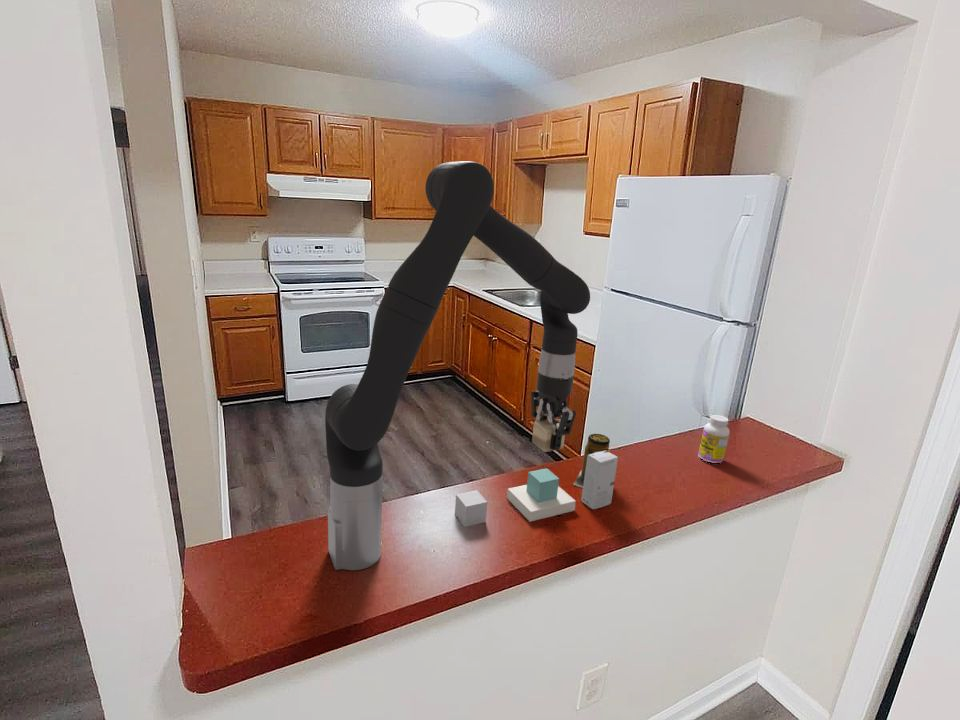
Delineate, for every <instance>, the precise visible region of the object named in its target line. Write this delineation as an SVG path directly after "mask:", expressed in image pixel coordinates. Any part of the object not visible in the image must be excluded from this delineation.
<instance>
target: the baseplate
mask: <svg viewBox="0 0 960 720" xmlns="http://www.w3.org/2000/svg"><path fill="white" fill-rule="evenodd" d="M526 490H527V484H523V485H519V486H514V487H508V488H507V493H506V499H507V500H508V501H509V502H510V503H511V504H512V505H513V506H514V507H515V508H516V509H517V510H518V511H519V512H520V513H521V514H522V515H523V517H524V518H525V519H526V520H527V521H528V522H529V523H530V522H534V521H538V520H542V519H546V518H551V517H554V516H558V515H562V514H566V513H571V512H575V509H576V502H577V501H576V500H575V498H573V497H572V496H571V495H570V494H568V492H566V490H564V489H563V488H561V486H560V485H558V492H557V498H556V499H551V500H547V501H543V502H539V503H538V502H537V501H536V500H535V499H534V498H533V497H532V496H531V495H530V494H529V493H528V492H527V491H526Z"/></svg>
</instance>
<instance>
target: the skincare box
mask: <svg viewBox="0 0 960 720" xmlns="http://www.w3.org/2000/svg"><path fill="white" fill-rule="evenodd" d="M618 460H619V457H618V456H617V455H615V454H613V453H611V452H608V451H606V450H605V451H601V452H595V453H593V454H589V455H588V456H587V463H586V470H585V477H584V484H583V488H582V491H581V492H582V493H581V499H580V501H581V502H582V503H583V504H584V505H586V507H588V508H590V509H592V510H597V509H600V508H604V507H606V506H609V505H611V504H612V500H613V493H614V487H615V486H614V485H615V480H616V474H617V468H618Z"/></svg>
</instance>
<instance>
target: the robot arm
mask: <svg viewBox="0 0 960 720" xmlns="http://www.w3.org/2000/svg"><path fill="white" fill-rule="evenodd" d="M494 185H495V183H494V179H493V176H492V173H491V172H490V171H489V169H488V168H487V167H486V166H485V165H483V164H481V163H479V162H476V161H470V160H469V161H463V160H462V161H448V162H443V163H440V164H439V165H436V166H434V168H433V169H432V170H431V171H430V172H429V174H428V176H427V177H426V181H425V195H426V198H427V201H428V204H430V207H431V208H432V209H433V210H434V211H435V212H434V217H433V219H432V222H431V223H430V226H429V228H428V230H427V231H426V234H425V235H424V237H423V238H422V240H421V241H420V243H419V244H418V245H417V246H416V247H415V249H414V250H413V251H411V253H410V254H409V255H408V256H407V258H405V260H404V261H403V262H402V263H401V264H400V266H399V267H398V269H397V270H396V271H395V272H394V274H393V275H392V277H391V279H390V280H389V283H388V285H387V287H386V290H385V291H384V294H383V295H382V298H381V300H380V303H379V305H378V308H377V309H376V313H375V318H374V320H373V328H372V332H371V334H372V335H371V339H370V340H371V341H370V348H369V356H368V359H367V363H366V366H365V369H364V372H363V374H362V376H361V377H360V380H359V383H355V384H354V383H350V384H345V385H342V386H341V387H339V388H337V389H336V390H335V391H334V392H333V393H332V394H331V395H330V397H329V399H328V400H327V403H326V406H325V414H324V416H325V417H324V418H325V419H324V420H325V421H324V422H325V424H324V425H325V444H326V445H325V447H326V449H325V450H326V456H327V461H328V465H329V480H330V481H329V486H330V487H329V488H330V490H329V491H330V492H329V494H330V497H329V498H330V501H329V502H330V504H329V505H330V506H329V507H327V535H328V536H327V537H328V538H327V539H328V540H327V541H328V543H327V544H328V545H327V546H328V547H327V549H328V553H329V556H330V559H331V562H332V565H333V568H334V570H335V571H338V570H339V571H340V570H346V571H359V570H360V571H361V570H364V569H367V568H370V567H371V566H373V565H375V564H376V563H377V562H378V561H379V560H380V558H381V557H382V556H381V555H382V525H383V524H382V523H383V522H382V519H383V515H382V513H383V474H384V473H383V468H384V467H383V466H384V464H383V457H382V455H381V451H380V448H379V442H380V441H381V440H382V439H383V438H384V436H386V434H387V432H388V429H389V427H390V424H391V421H392V419H393V416H394V413H395V411H396V407H397V404H398V401H399V399H400V395H401V392H402V390H403V386H404V385H405V382H406V379H407V377H408V374H409V373H410V370H411V369H412V366H413V364H414V362H415V359H416V357H417V355H418V353H419V350H420V349H421V346H422V344H423V341H424V340H425V337H426V335H427V333H428V331H429V330H430V328H431V325H432V323H433V321H434V319H435V317H436V314H437V313H438V310H439V307H440V305H441V303H442V300H443V297H444V296H445V293H446V291H447V289H448V287H449V285H450V283H451V281H452V278H453V277H454V275H455V272H456V269H457V268H458V265H459V263H460V261H461V259H462V257H463V254H464V253H465V251H466V249H467V248H468V245H469V243H470V242H471V240H472V238H473V237H474V238H476V239H477V240H479V242H481V243H482V244H483V245H485V246H486V247H487V248H488V249H489V250H490V251H492V252H493V253H494V254H495V255H496V256H497V257H498V258H500V259H501V260H502V261H503V262H504V263H505V264H506V265H507V266H508V267H509V268H510V269H512V271H513V272H514V273H516V274H517V275H518V276H519V277H520V278H522V280H523V281H525V282H526V284H528V285H530V286H531V287H533V288H535V290H539V291H540V293H539V305H540V313H541V321H542V324H543V326H542V327H543V334H542V342H541V343H542V344H541V350H540V351H541V352H540V355H539V361H538V369H537V377H536V378H537V379H536V387H535V388H536V390H531V392H530V404H531V406H530V407H531V408H530V409H531V411H530V412H531V417H532V418H535V421H542V420H548V419H549V423H550V424H551V426H552V435H551V444H550V449H552V450H553V451H556V450H557V449H558V450H560V449H559V448H560V447H561V440H562V435H565V436H566V435H567V436H568V435H569V434H570V433H571V430H572V428H573V424H574V422H575V419H576V415H577V413H576V412H577V411H575V410H571V409H570V408H569V407H568V397H569V396H570V395H571V394H572V391H573V384H574V376H575V375H574V374H575V368H576V349H577V344H578V343H577V342H578V335H579V333H578V327H577V326H576V325H575V324H574V323H573V322H572V321H571V320H570V318H569V314H570V315H576V314H577V315H578V314H579V313H581V312H584V311H585V310H586V309H587V308H588V306H589V304H590V300H591V292H590V289H589V286H588V284H587V283H586V282H585V281H584V279H582V278H581V276H579V275H578V274H576V273H575V272H574V271H573V270H571V269H570V268H568V267H567V266H565V265H564V264H562V263H560V262H559V261H558V260H557V259H556V258H555V257H554V256H553V255H552V254H551V253H550V252H549V251H548V250H547V248H545V247H544V246H543V245H542V243H540V241H538V240H537V239H536V238H535V237H534V236H532V235H531V234H530V233H528V232H527V231H526V230H524V229H523V228H521V227H520V226H518V225H517V224H515V223H513V222H512V221H511V220H509V219H508V218H506V217H505V216H503V215H502V214H501V213H500V212H498V211H497V210H496V209H495V208H494V207H493V206H492V205H491V204H492V202H493V198H494V193H495V186H494ZM555 418H557V419H555ZM557 423H559V428H558V429H557V426H556V425H557ZM565 427H566V428H565ZM564 428H565V429H564Z"/></svg>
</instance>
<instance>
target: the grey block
mask: <svg viewBox="0 0 960 720" xmlns="http://www.w3.org/2000/svg"><path fill="white" fill-rule="evenodd" d="M487 508H488V501H487V499H485V497H483V495H482V494H481V493H480V492H479V491H478V490H477V489H475V490H472V491H466V492H461V493H457V494H455V507H454V515H455V516H456V518H457V517H458V518H457V519H458V521H459V522H460V521H461V522H460V523H461V525H462V526H463V527H464V528H467V527H470V526H475V525H479V524H482V523H486V521H487V511H488V509H487ZM474 524H475V525H474ZM466 526H467V527H466Z"/></svg>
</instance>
